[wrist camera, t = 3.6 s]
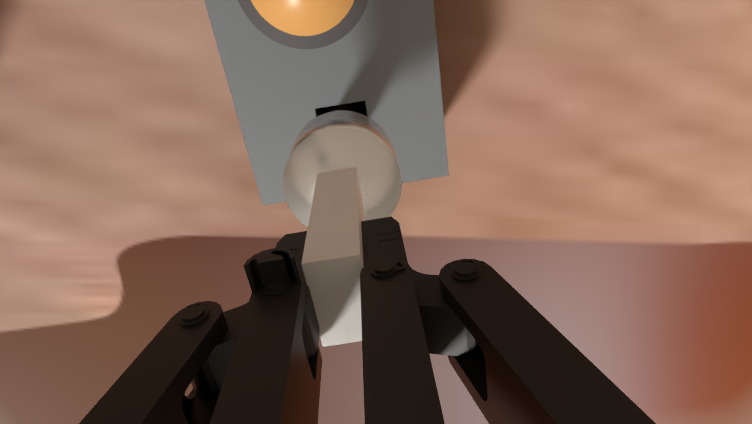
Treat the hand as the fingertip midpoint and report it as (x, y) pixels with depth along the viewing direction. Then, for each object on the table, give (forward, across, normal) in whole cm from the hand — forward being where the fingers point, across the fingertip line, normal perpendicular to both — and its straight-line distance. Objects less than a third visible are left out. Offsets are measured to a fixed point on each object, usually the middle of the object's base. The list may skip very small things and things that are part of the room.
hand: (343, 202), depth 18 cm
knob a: (+13, 0, 0) cm, 13 cm away
